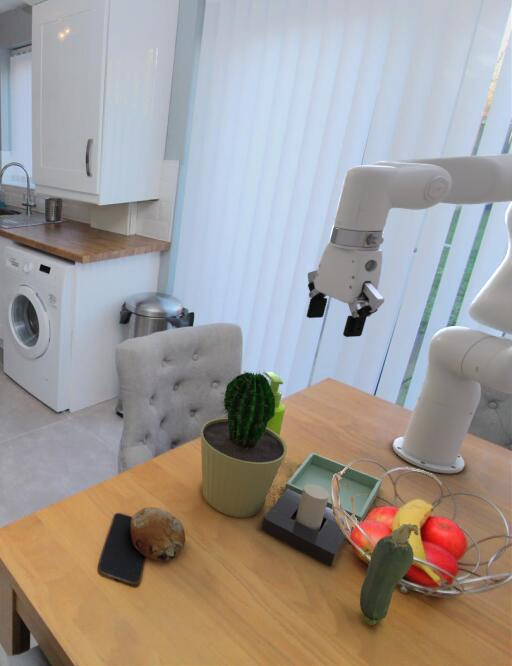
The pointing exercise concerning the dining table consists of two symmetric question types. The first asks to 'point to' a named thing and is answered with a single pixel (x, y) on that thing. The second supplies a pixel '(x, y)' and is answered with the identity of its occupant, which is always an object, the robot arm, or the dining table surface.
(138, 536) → the bread roll
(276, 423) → the soap dispenser
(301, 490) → the green tray
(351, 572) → the dining table surface
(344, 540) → the block
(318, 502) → the plug
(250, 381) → the potted cactus
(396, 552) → the vegetable
